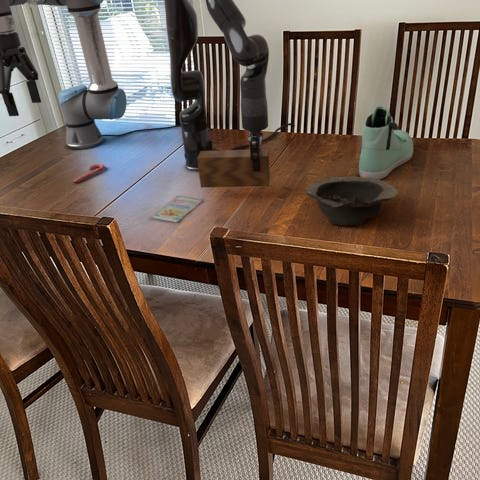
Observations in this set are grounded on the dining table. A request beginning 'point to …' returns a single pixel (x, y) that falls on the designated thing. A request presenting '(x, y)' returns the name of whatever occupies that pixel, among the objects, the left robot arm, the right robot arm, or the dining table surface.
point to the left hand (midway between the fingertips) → (25, 109)
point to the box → (232, 169)
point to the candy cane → (100, 168)
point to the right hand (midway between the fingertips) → (257, 166)
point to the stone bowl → (350, 198)
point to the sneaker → (383, 145)
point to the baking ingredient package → (176, 209)
